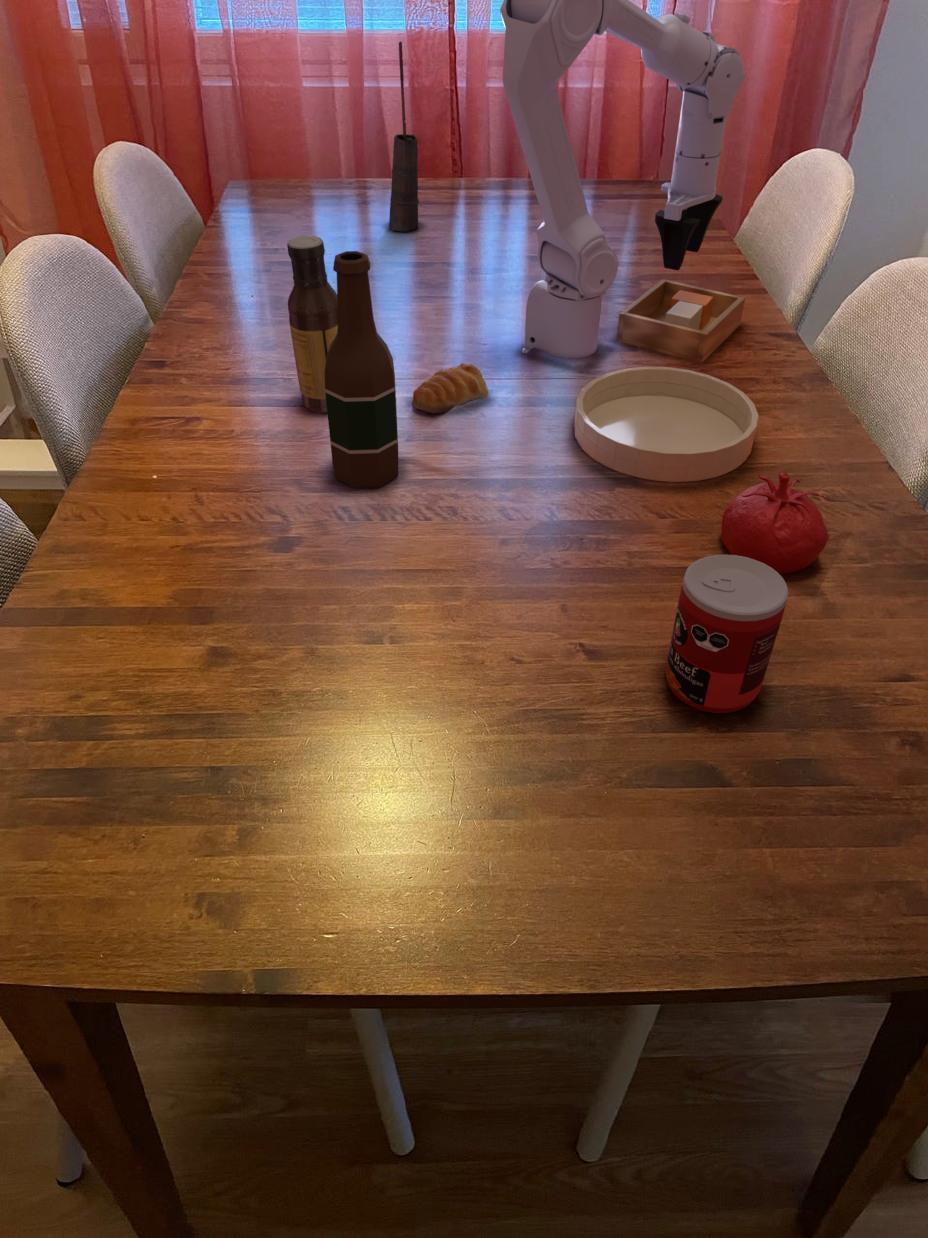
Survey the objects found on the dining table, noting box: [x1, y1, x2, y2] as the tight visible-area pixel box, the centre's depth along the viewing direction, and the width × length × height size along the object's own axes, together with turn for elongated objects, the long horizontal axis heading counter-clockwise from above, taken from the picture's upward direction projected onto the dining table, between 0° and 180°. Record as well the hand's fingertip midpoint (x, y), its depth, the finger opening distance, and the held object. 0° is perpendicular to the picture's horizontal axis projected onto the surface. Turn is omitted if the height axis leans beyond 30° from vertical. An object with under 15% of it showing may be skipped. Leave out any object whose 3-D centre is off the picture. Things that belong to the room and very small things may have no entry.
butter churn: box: [388, 40, 420, 233], centre depth 156 cm, size 9×10×28 cm
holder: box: [615, 278, 746, 364], centre depth 132 cm, size 13×15×4 cm
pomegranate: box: [720, 471, 830, 575], centre depth 91 cm, size 10×10×9 cm
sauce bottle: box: [286, 235, 338, 414], centre depth 111 cm, size 6×6×20 cm
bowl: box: [573, 366, 760, 483], centre depth 110 cm, size 20×20×4 cm
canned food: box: [665, 554, 789, 714], centre depth 77 cm, size 8×8×11 cm
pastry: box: [411, 362, 489, 414], centre depth 117 cm, size 9×7×4 cm
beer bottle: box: [325, 250, 399, 489], centre depth 98 cm, size 8×8×24 cm
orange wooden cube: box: [670, 290, 714, 329], centre depth 134 cm, size 4×5×4 cm
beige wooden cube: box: [665, 301, 703, 330], centre depth 131 cm, size 4×5×4 cm
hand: (681, 259), depth 130 cm, fingers open, 7 cm apart
